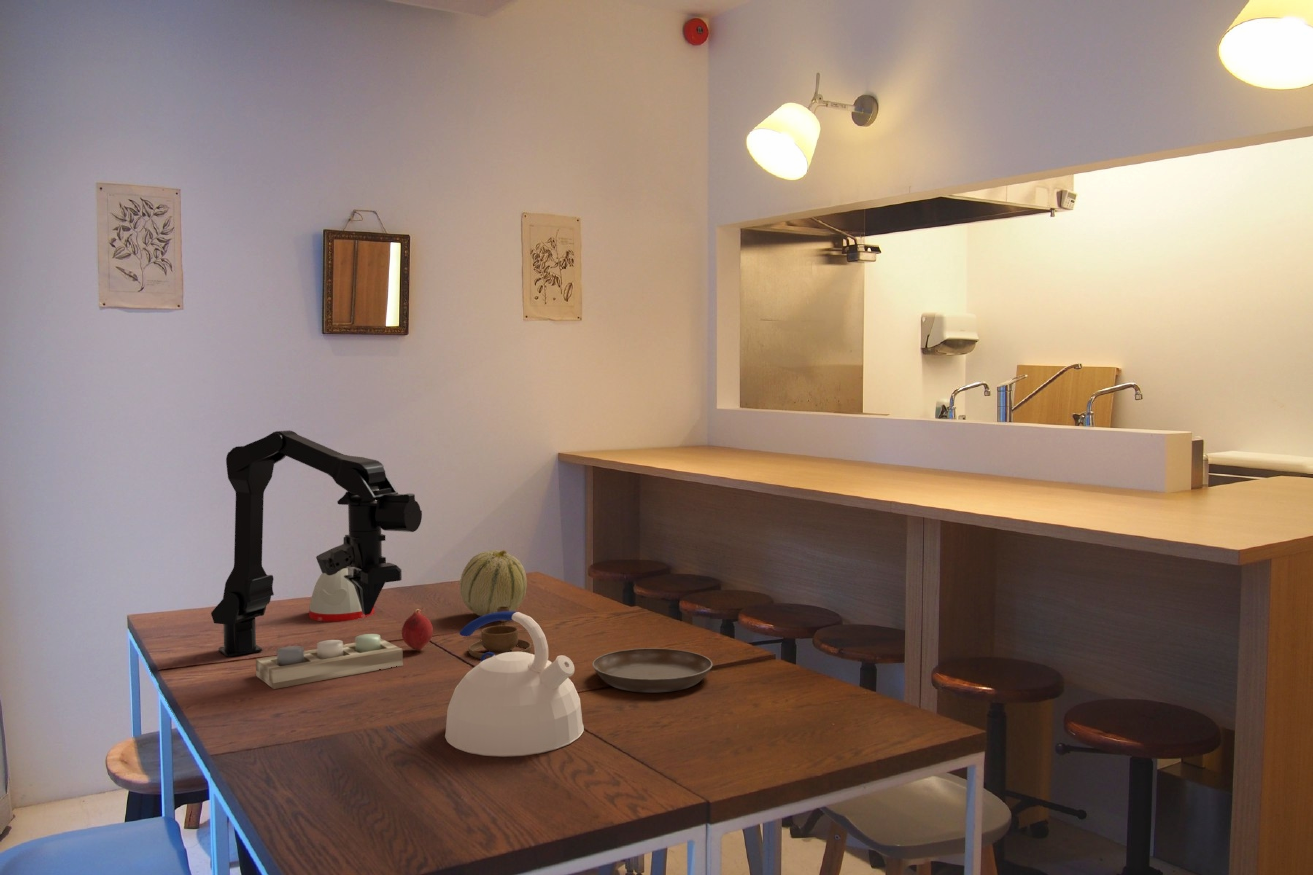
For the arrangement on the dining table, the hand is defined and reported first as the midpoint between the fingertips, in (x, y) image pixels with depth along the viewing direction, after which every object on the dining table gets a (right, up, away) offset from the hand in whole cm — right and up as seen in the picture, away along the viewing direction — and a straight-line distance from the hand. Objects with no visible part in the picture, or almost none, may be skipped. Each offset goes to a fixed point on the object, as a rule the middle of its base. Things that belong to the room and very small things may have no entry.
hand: (366, 614), depth 188 cm
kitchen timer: (-17, -7, +41) cm, 45 cm away
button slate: (-11, -7, -8) cm, 15 cm away
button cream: (-5, -7, -4) cm, 10 cm away
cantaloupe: (+17, -7, +37) cm, 42 cm away
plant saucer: (+52, -10, -10) cm, 54 cm away
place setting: (+24, -9, +12) cm, 29 cm away
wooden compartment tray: (-5, -9, -4) cm, 12 cm away
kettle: (+32, -11, -37) cm, 50 cm away
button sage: (0, -7, 0) cm, 6 cm away
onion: (+7, -9, +9) cm, 15 cm away
